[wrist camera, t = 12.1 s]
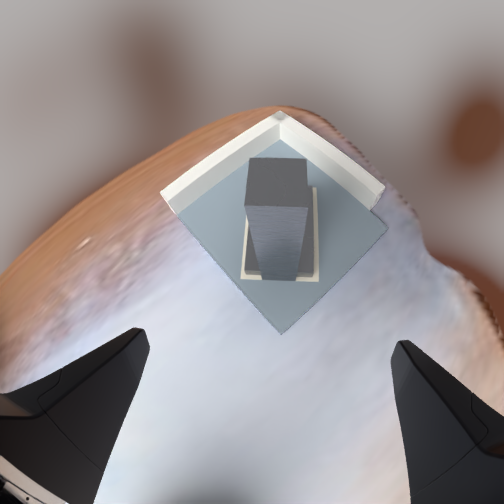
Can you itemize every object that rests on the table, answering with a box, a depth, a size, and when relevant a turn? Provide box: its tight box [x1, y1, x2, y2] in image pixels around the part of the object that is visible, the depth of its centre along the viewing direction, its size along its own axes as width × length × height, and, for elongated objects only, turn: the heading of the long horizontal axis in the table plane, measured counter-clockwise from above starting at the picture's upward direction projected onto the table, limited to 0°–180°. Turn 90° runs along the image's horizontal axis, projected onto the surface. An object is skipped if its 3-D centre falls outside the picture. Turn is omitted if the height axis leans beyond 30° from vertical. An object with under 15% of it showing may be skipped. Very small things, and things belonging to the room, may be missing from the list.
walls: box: [160, 111, 385, 217], centre depth 25 cm, size 16×14×3 cm
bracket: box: [244, 158, 314, 281], centre depth 19 cm, size 9×6×12 cm, turn 175°
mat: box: [177, 139, 388, 335], centre depth 25 cm, size 14×15×1 cm
